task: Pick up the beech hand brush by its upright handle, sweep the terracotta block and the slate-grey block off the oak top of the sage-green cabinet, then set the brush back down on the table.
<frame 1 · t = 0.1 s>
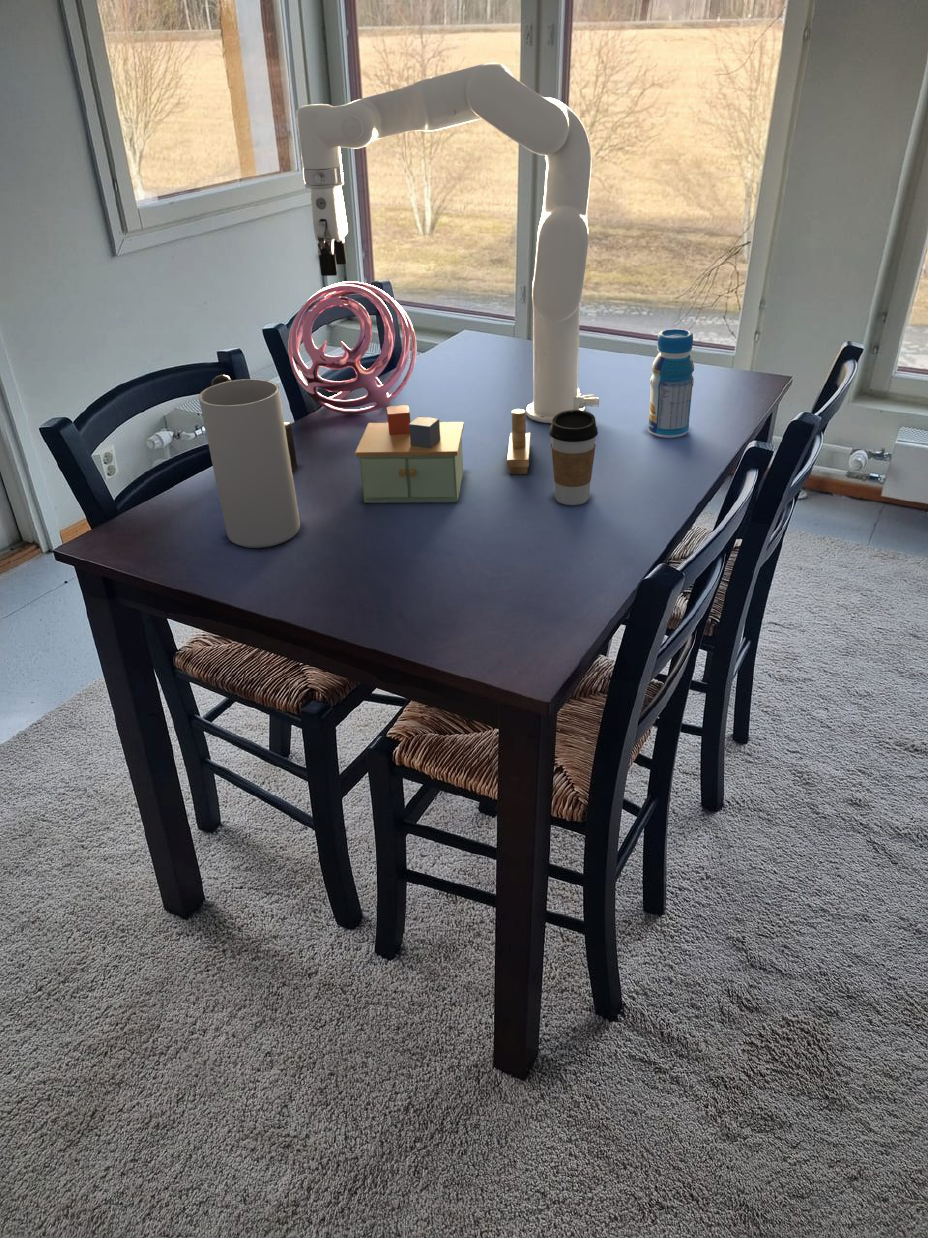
hand: (334, 269, 189), 31 cm above the table, tool pointing down, fingers open, 9 cm apart
slate block: (425, 442, 166), point 10 cm above the table, touching cabinet
beverage bottle: (667, 432, 191), on the table
pepper mill: (253, 473, 183), on the table
terracotta block: (399, 430, 171), point 10 cm above the table, touching cabinet
brush: (519, 460, 182), on the table
pink openwork sphere: (355, 408, 211), on the table
cabinet: (415, 487, 174), on the table
cylinder vase: (264, 533, 161), on the table
coffee cup: (572, 499, 167), on the table
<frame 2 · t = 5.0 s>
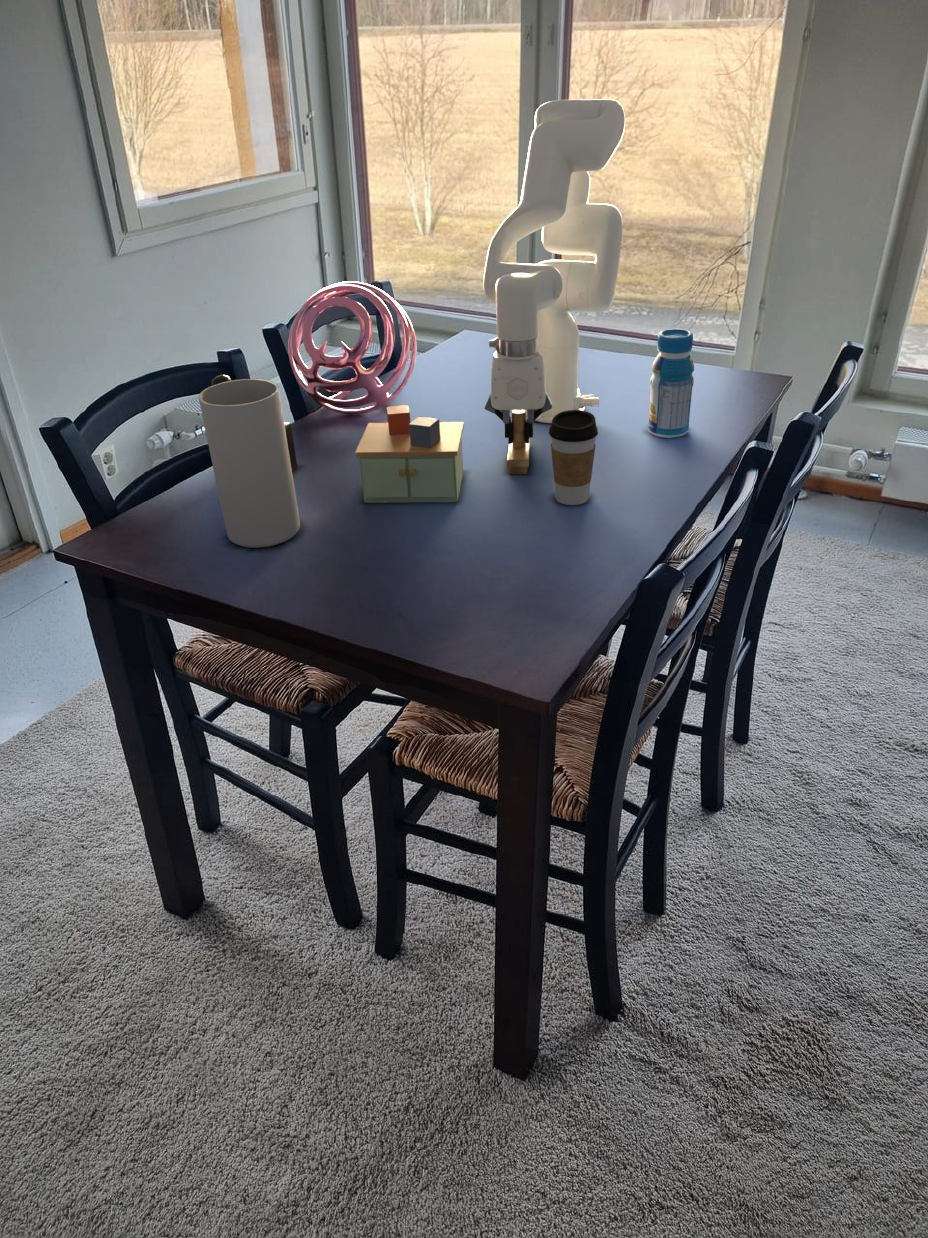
hand: (518, 440, 180), 4 cm above the table, tool pointing down, fingers closed on brush, 2 cm apart
brush: (519, 460, 182), on the table, touching gripper
everything else where it was.
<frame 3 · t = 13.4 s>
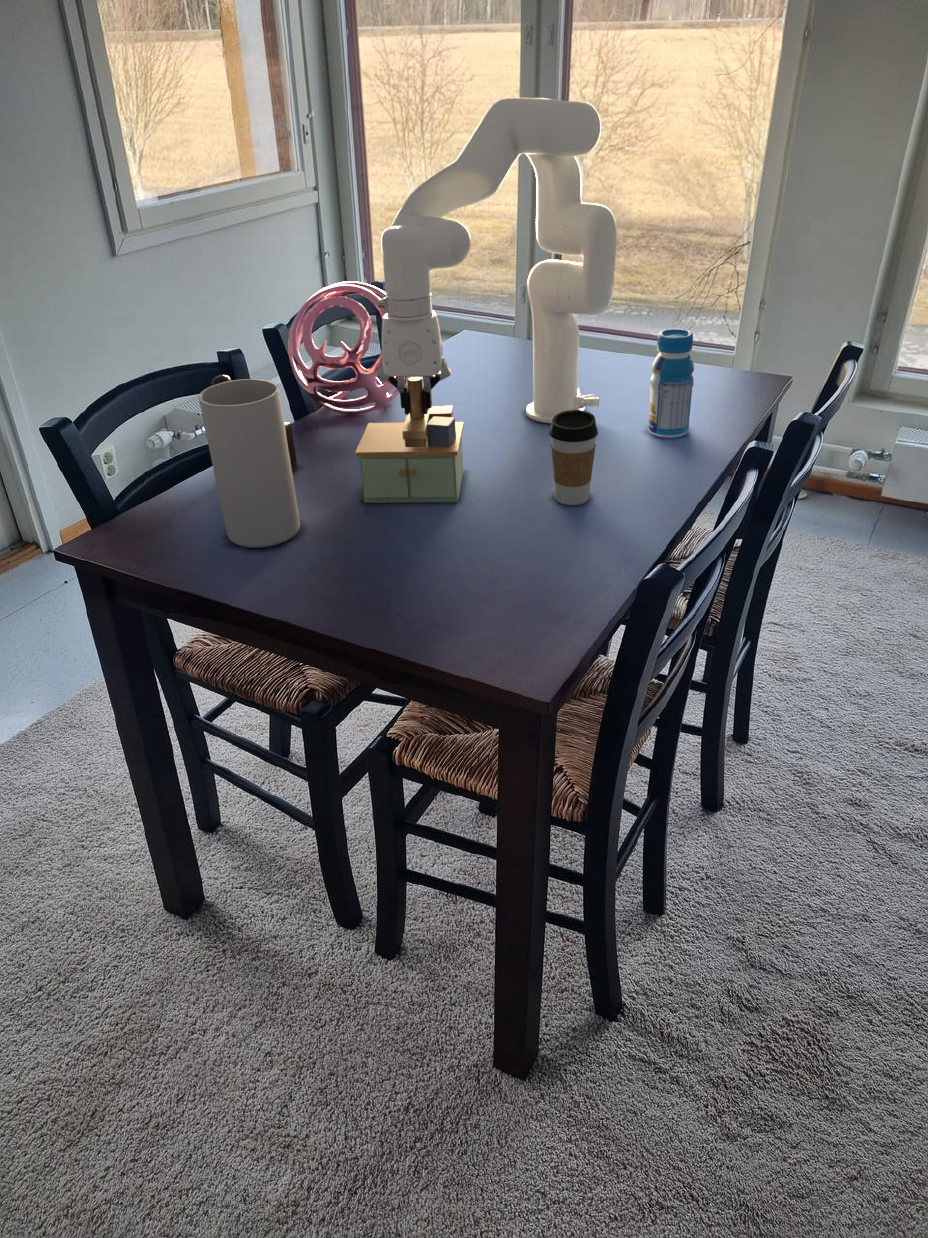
hand: (417, 410, 166), 15 cm above the table, tool pointing down, fingers closed on brush, 2 cm apart
slate block: (442, 442, 165), point 10 cm above the table, touching cabinet
terracotta block: (442, 430, 170), point 10 cm above the table, touching cabinet
brush: (418, 432, 168), point 11 cm above the table, touching gripper
everything else where it was.
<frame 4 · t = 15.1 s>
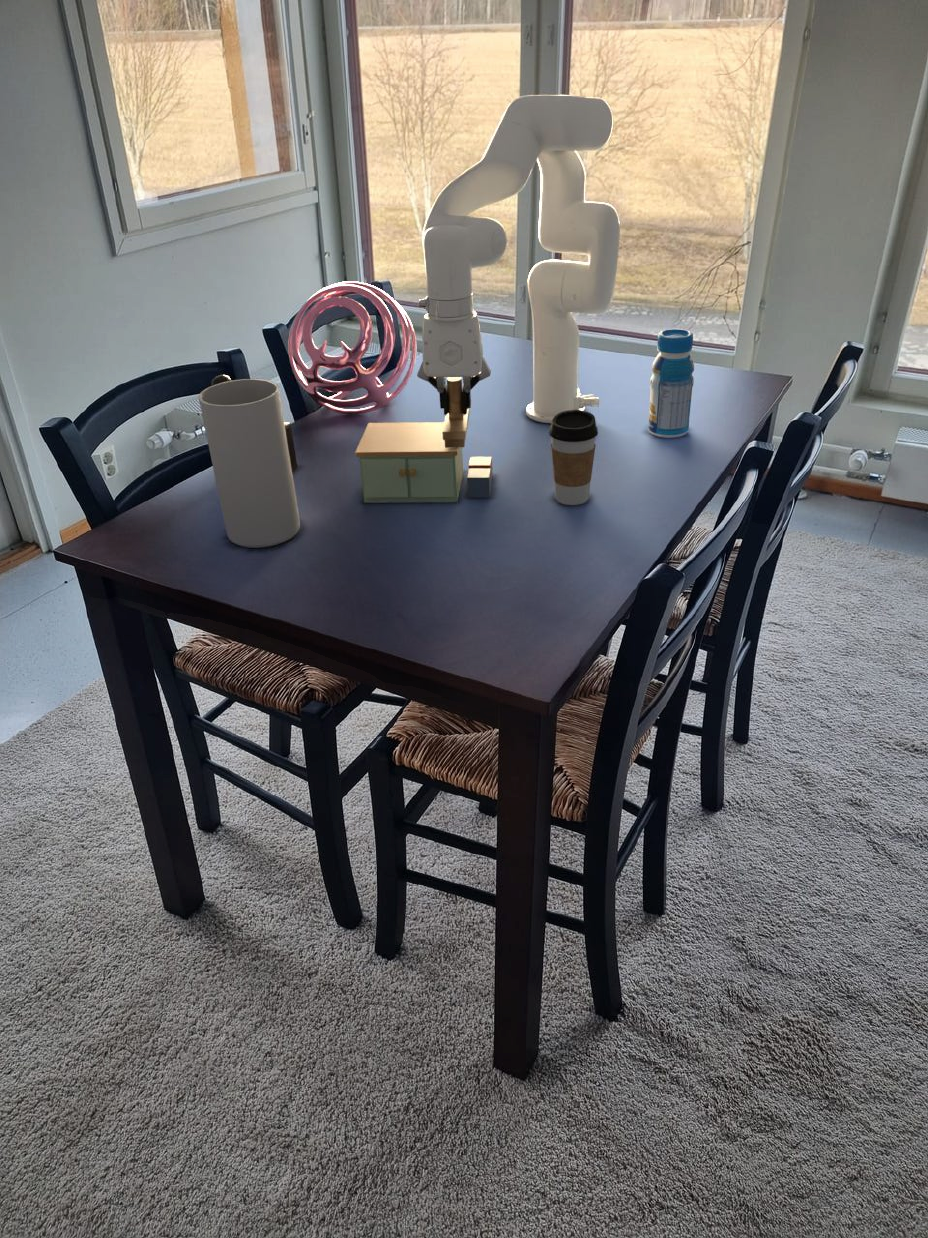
hand: (456, 411, 165), 15 cm above the table, tool pointing down, fingers closed on brush, 2 cm apart
slate block: (468, 482, 170), point 2 cm above the table, tilted 90°
terracotta block: (470, 470, 174), point 2 cm above the table, tilted 90°
brush: (457, 433, 167), point 11 cm above the table, touching gripper
everything else where it was.
when the fingers open (4 cm above the table, at t = 23.7 s): brush stays where it is, on the table.
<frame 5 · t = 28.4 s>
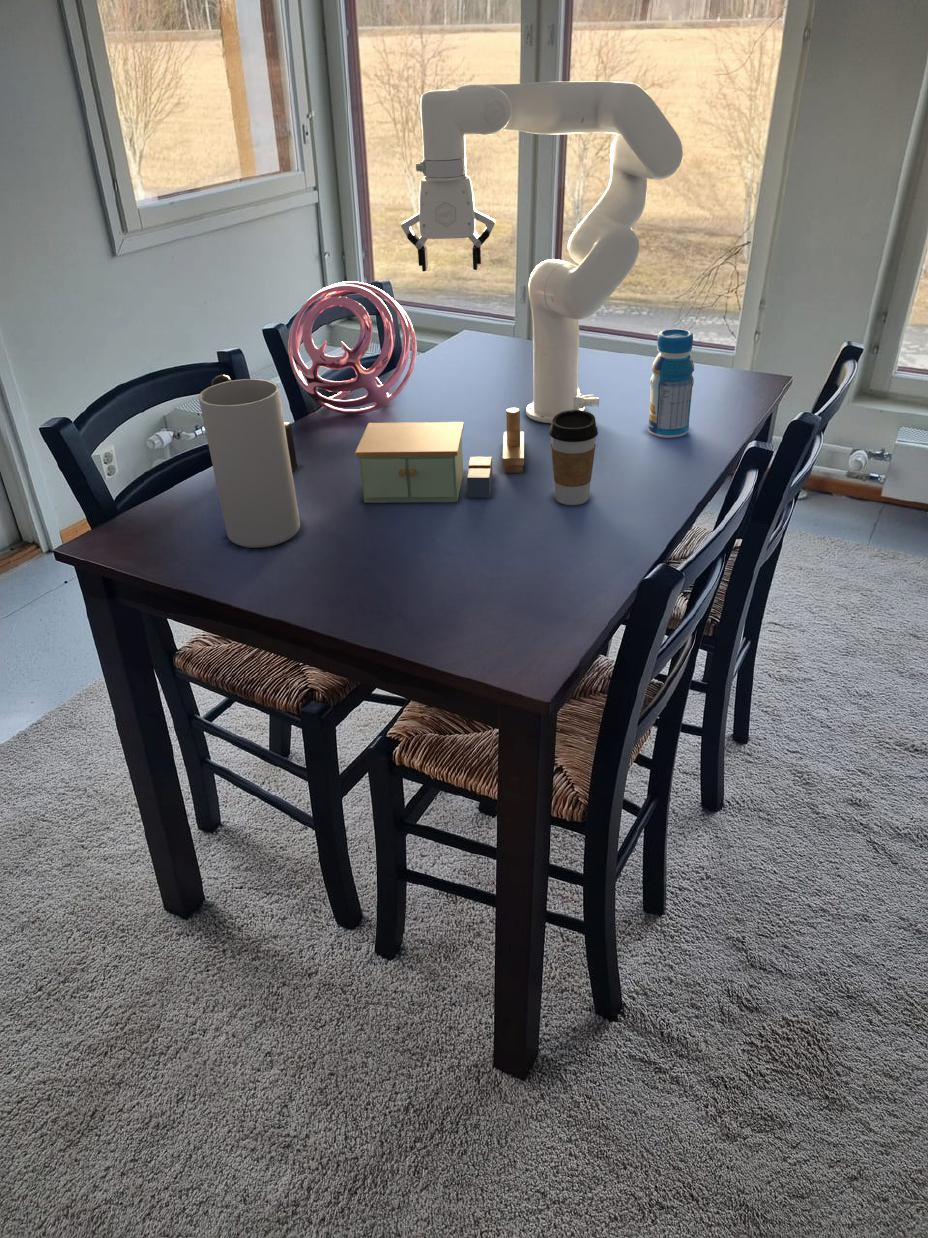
hand: (450, 268, 176), 33 cm above the table, tool pointing down, fingers open, 9 cm apart
brush: (513, 458, 183), on the table
everything else where it was.
at the end: terracotta block point 2.0 cm above the table; slate block point 2.0 cm above the table; brush inside the target area (0.3 cm from its centre), on the table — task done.
